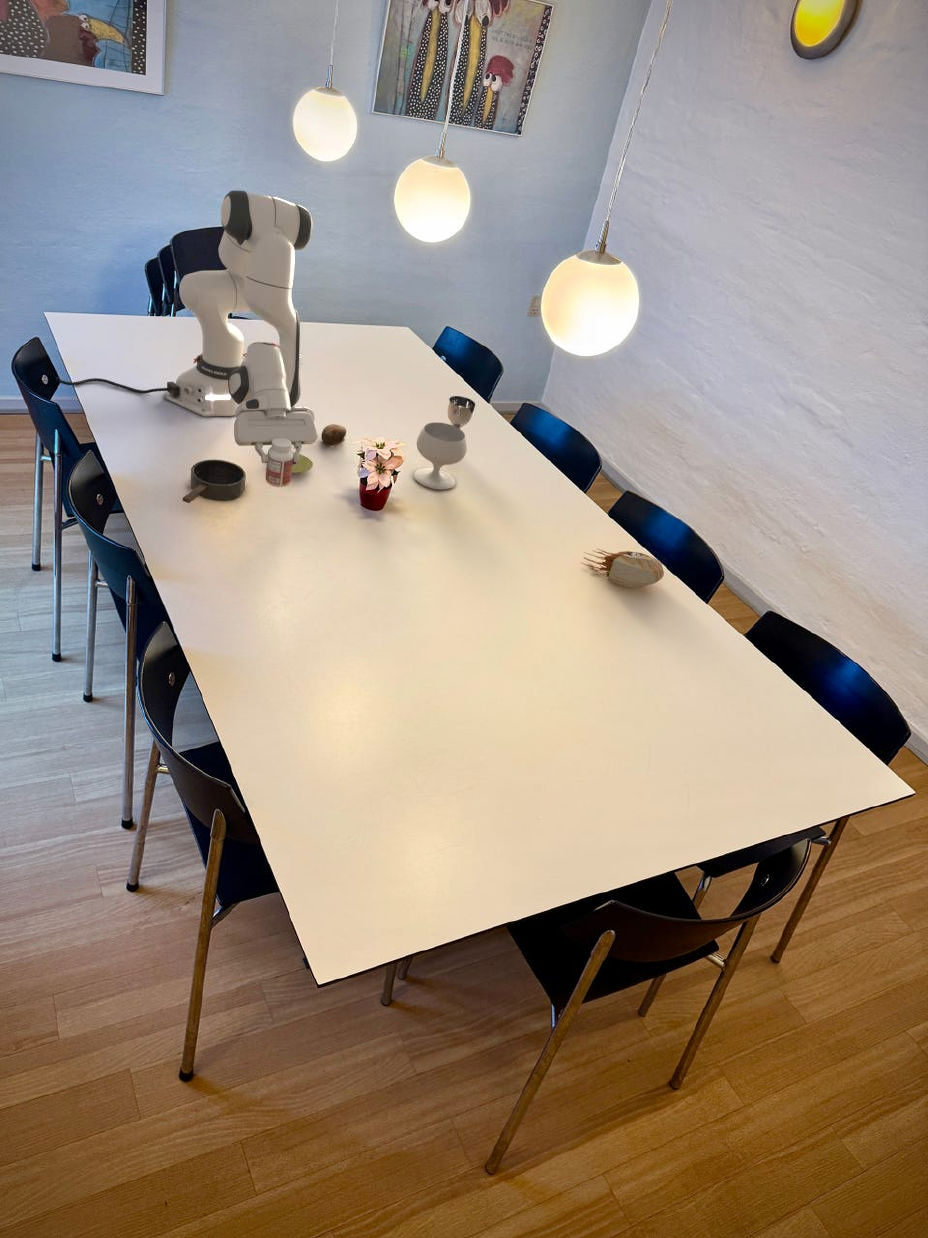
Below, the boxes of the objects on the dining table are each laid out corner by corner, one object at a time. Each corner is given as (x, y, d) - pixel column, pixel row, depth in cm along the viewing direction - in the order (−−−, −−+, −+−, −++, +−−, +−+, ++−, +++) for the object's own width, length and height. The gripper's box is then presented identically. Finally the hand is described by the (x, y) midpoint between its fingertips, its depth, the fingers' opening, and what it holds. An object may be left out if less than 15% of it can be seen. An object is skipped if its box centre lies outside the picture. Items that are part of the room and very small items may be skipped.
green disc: (277, 479, 233) (277, 472, 232) (264, 458, 241) (265, 452, 239) (317, 477, 238) (318, 471, 237) (304, 457, 246) (305, 451, 245)
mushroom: (355, 432, 258) (345, 416, 253) (348, 452, 253) (337, 436, 249) (331, 436, 261) (321, 420, 256) (324, 456, 257) (313, 440, 252)
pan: (180, 490, 219) (180, 474, 216) (207, 470, 229) (208, 454, 227) (228, 507, 217) (229, 491, 215) (253, 486, 228) (255, 470, 225)
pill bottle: (286, 475, 224) (291, 435, 217) (293, 487, 220) (298, 448, 213) (262, 475, 221) (266, 435, 215) (268, 488, 217) (272, 448, 210)
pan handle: (182, 501, 209) (182, 497, 209) (202, 486, 216) (202, 482, 216) (189, 503, 209) (189, 500, 208) (208, 488, 216) (208, 485, 216)
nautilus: (573, 578, 226) (584, 554, 238) (655, 603, 222) (662, 577, 235) (580, 551, 222) (591, 528, 234) (664, 576, 218) (670, 551, 231)
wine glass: (469, 448, 273) (479, 403, 265) (457, 456, 267) (468, 410, 259) (446, 438, 275) (456, 393, 267) (435, 446, 269) (444, 400, 261)
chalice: (403, 467, 254) (412, 419, 245) (448, 467, 260) (458, 421, 251) (419, 492, 244) (429, 443, 235) (465, 492, 250) (477, 444, 241)
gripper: (308, 411, 225) (316, 464, 224) (228, 411, 215) (236, 466, 214) (316, 402, 219) (324, 457, 219) (234, 402, 210) (242, 459, 209)
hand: (280, 462), depth 216 cm, fingers closed on pill bottle, 6 cm apart
